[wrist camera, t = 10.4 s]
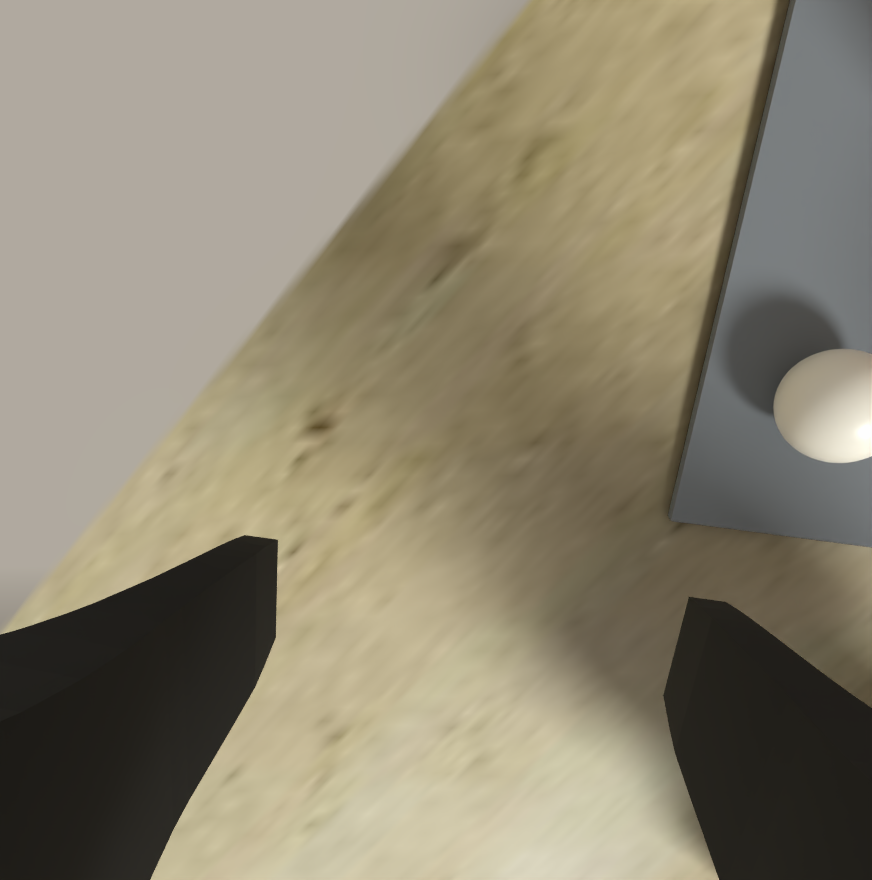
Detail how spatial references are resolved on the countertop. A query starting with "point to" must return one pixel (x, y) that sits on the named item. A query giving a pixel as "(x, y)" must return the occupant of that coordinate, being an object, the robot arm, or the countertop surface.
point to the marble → (828, 406)
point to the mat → (791, 291)
